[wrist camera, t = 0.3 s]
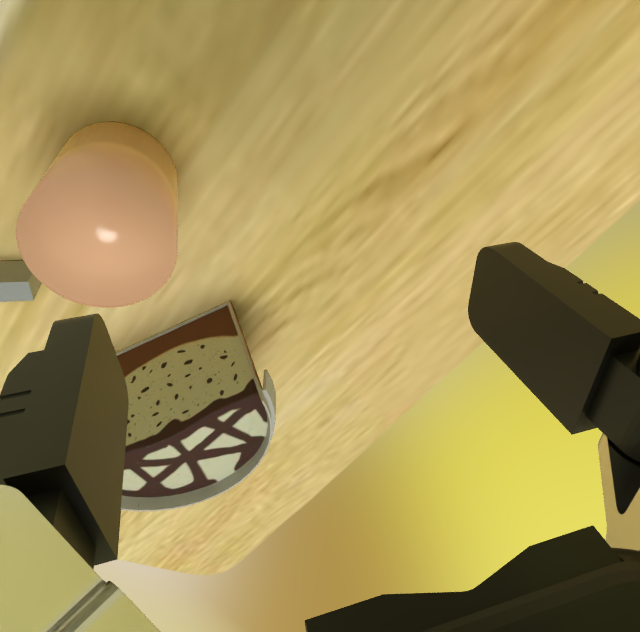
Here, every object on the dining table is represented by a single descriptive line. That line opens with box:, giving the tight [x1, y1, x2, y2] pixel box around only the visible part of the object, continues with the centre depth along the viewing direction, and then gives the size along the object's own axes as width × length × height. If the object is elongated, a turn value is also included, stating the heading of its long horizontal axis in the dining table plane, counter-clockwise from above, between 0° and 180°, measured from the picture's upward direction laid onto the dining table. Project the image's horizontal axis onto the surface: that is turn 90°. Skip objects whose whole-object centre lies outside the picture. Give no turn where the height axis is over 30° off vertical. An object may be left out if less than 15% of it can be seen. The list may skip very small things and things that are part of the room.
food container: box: [116, 300, 276, 511], centre depth 30 cm, size 12×6×10 cm, turn 110°
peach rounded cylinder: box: [16, 122, 178, 307], centre depth 22 cm, size 6×6×8 cm
